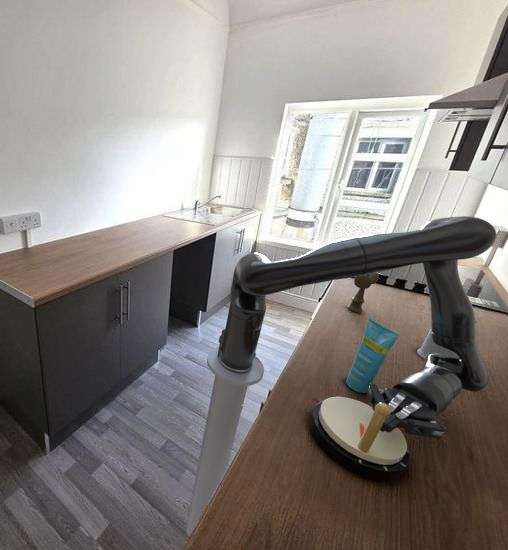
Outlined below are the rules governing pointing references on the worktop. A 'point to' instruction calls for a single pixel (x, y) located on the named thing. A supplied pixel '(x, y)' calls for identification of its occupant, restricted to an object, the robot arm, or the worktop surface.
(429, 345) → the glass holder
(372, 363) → the tube
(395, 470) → the dial base
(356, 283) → the kendama
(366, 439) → the wheel
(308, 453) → the worktop surface
